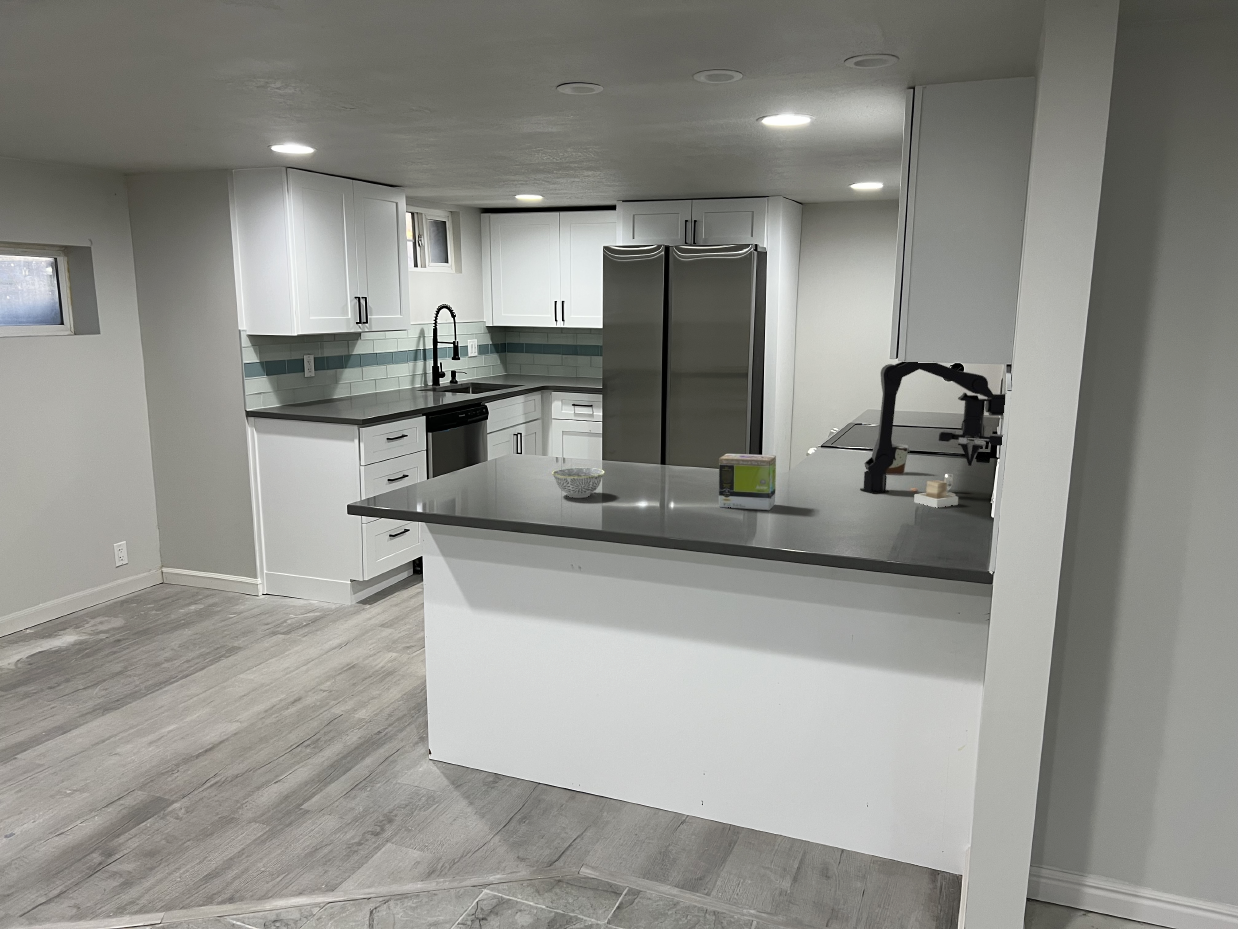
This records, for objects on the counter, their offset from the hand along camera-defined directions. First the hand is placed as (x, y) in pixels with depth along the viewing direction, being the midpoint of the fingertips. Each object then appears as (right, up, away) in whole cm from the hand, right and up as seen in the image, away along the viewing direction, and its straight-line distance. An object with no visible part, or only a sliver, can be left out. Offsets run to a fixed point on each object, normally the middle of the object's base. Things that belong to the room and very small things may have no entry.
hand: (970, 465), depth 278 cm
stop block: (-15, -11, -12) cm, 22 cm away
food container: (-14, -3, +38) cm, 40 cm away
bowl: (-121, -9, -2) cm, 121 cm away
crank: (-8, -8, +1) cm, 11 cm away
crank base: (-12, -9, +1) cm, 15 cm away
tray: (-15, -11, -12) cm, 22 cm away
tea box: (-71, -12, -16) cm, 74 cm away
